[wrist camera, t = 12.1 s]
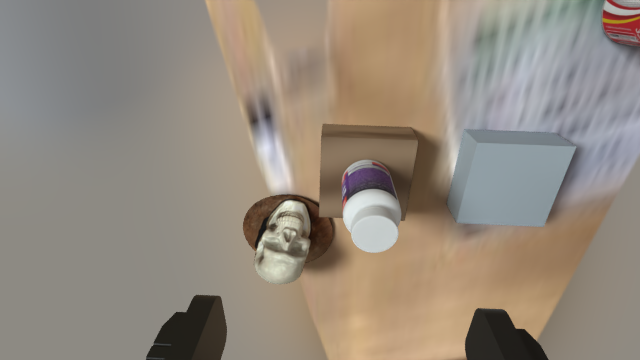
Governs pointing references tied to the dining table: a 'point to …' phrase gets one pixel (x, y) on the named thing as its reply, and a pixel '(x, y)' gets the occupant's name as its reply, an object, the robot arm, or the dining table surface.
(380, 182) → the pill bottle
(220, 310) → the robot arm
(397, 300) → the dining table surface
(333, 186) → the walnut block
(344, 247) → the dining table surface
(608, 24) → the soda can
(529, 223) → the slate block
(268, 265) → the skull
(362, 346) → the dining table surface
